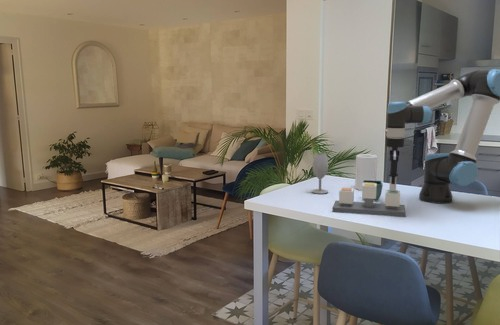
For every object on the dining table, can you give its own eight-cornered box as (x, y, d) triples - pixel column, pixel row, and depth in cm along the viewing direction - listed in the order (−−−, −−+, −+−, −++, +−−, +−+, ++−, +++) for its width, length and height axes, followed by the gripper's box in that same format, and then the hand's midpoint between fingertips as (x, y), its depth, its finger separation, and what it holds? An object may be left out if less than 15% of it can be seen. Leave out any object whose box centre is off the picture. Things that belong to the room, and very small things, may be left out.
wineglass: (330, 191, 230) (331, 153, 227) (324, 195, 223) (325, 155, 219) (315, 189, 235) (316, 152, 231) (309, 193, 228) (309, 154, 224)
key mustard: (376, 195, 195) (376, 182, 194) (375, 198, 189) (376, 185, 188) (362, 194, 197) (363, 181, 196) (361, 198, 191) (362, 184, 190)
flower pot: (382, 202, 207) (382, 184, 206) (363, 201, 209) (363, 183, 208) (380, 198, 216) (381, 180, 214) (362, 197, 218) (362, 180, 216)
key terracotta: (353, 200, 198) (353, 187, 197) (352, 203, 193) (353, 190, 192) (340, 199, 200) (340, 187, 199) (339, 203, 194) (339, 189, 193)
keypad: (404, 208, 196) (405, 194, 194) (405, 217, 183) (406, 201, 182) (335, 204, 205) (335, 190, 203) (332, 211, 192) (332, 196, 191)
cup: (354, 186, 243) (355, 154, 239) (374, 186, 241) (375, 154, 238) (356, 190, 232) (357, 157, 229) (377, 191, 230) (378, 157, 227)
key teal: (399, 203, 192) (399, 190, 191) (399, 206, 187) (400, 193, 186) (385, 202, 194) (385, 189, 193) (385, 205, 189) (385, 192, 188)
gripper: (386, 135, 193) (383, 187, 197) (386, 139, 180) (383, 193, 184) (403, 136, 191) (400, 188, 194) (405, 139, 178) (402, 194, 182)
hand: (392, 190), depth 189 cm, fingers closed
